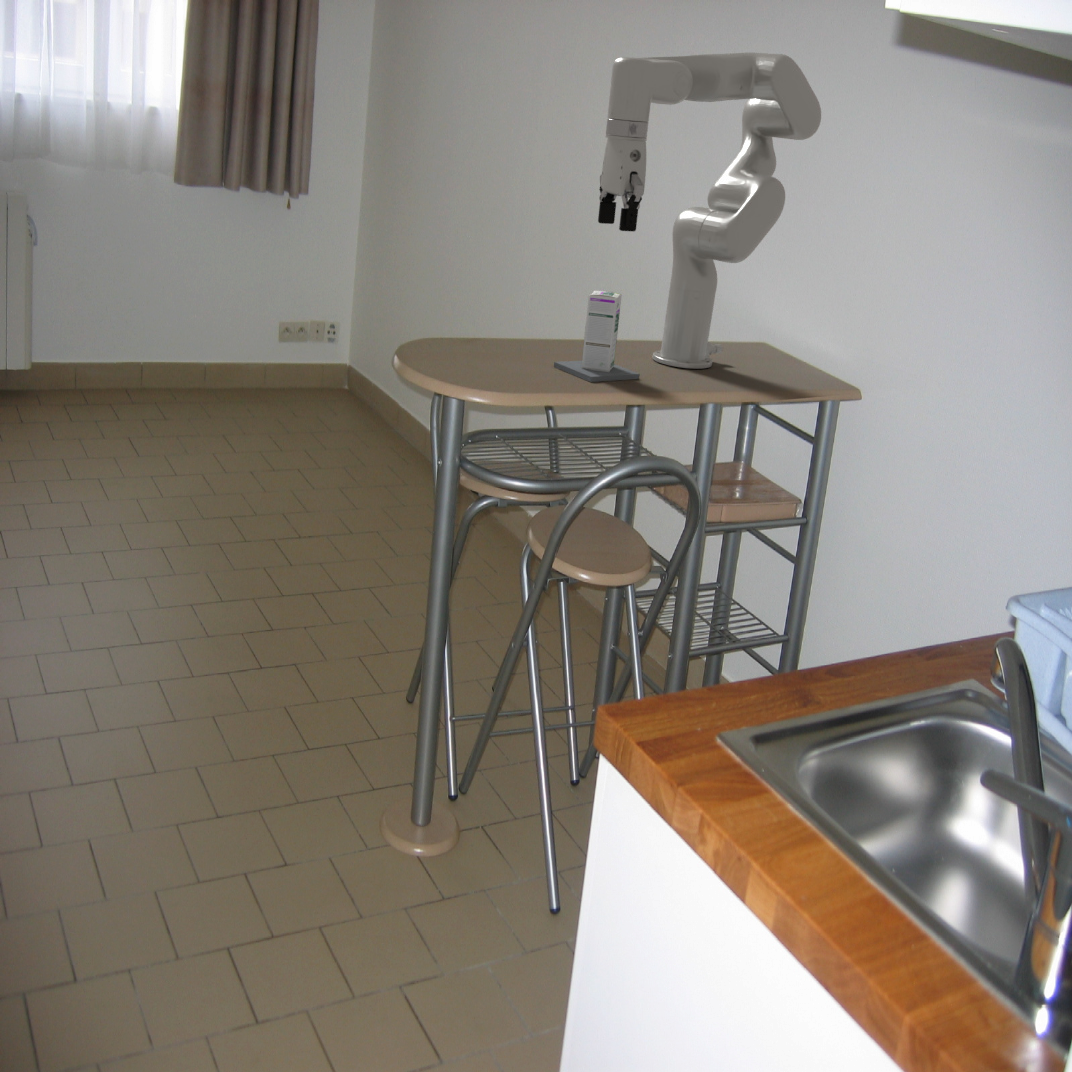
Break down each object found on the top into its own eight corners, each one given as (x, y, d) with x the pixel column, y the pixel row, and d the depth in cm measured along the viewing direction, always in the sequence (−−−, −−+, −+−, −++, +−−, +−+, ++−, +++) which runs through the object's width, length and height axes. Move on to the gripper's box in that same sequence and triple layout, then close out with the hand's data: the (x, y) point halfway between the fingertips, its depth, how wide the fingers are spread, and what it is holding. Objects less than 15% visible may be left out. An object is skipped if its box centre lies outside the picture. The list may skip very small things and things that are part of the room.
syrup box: (609, 372, 219) (619, 297, 214) (579, 368, 220) (588, 293, 215) (613, 366, 224) (623, 293, 219) (584, 362, 225) (593, 289, 220)
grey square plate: (601, 364, 230) (602, 359, 230) (639, 378, 221) (639, 373, 221) (553, 366, 223) (554, 361, 223) (590, 382, 214) (590, 376, 214)
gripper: (666, 135, 201) (654, 234, 207) (625, 128, 216) (615, 221, 222) (628, 133, 198) (617, 233, 204) (589, 126, 213) (580, 219, 219)
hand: (616, 227), depth 213 cm, fingers open, 9 cm apart
